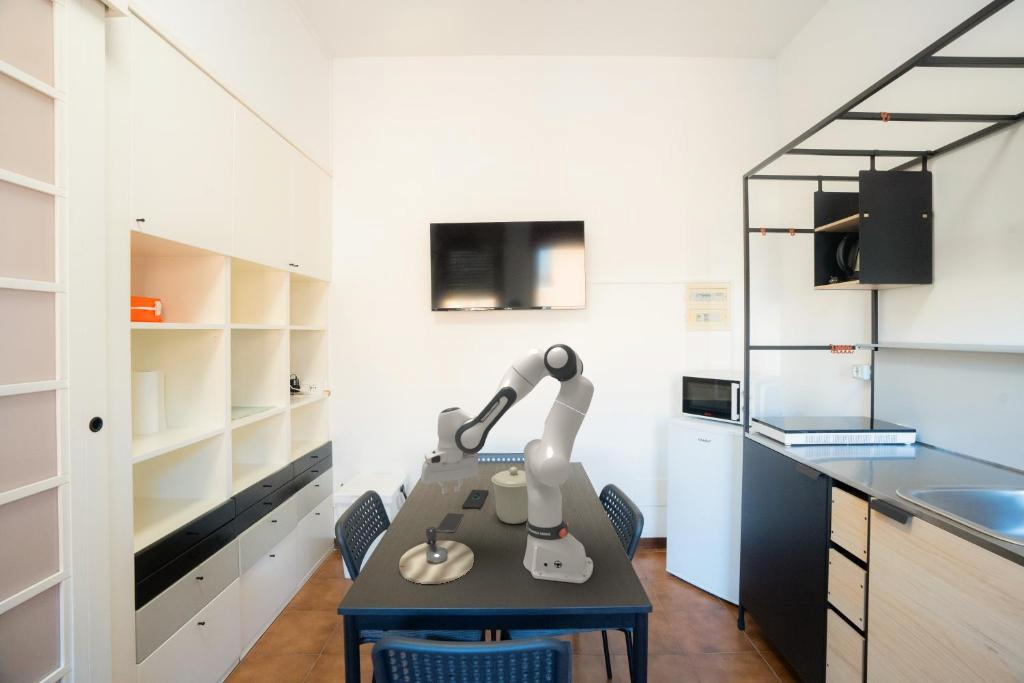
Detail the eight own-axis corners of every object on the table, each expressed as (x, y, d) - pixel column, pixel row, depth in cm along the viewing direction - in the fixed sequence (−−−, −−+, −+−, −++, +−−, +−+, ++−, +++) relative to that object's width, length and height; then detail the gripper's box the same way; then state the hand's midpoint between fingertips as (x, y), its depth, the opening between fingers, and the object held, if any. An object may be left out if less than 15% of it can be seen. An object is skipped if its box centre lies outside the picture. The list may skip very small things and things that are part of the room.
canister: (532, 530, 158) (532, 475, 158) (486, 526, 162) (486, 473, 162) (538, 511, 176) (538, 461, 176) (497, 507, 180) (497, 459, 179)
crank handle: (450, 560, 134) (450, 543, 134) (428, 565, 132) (428, 548, 131) (440, 540, 147) (440, 525, 147) (420, 544, 145) (420, 528, 145)
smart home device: (489, 489, 197) (480, 507, 177) (489, 493, 197) (480, 511, 177) (472, 489, 198) (461, 506, 179) (472, 492, 198) (461, 510, 179)
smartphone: (464, 513, 173) (454, 531, 157) (464, 516, 173) (453, 533, 157) (447, 512, 174) (435, 529, 158) (447, 515, 174) (435, 532, 158)
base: (486, 552, 143) (486, 547, 143) (450, 592, 121) (449, 586, 121) (427, 539, 152) (426, 535, 152) (383, 574, 130) (383, 569, 130)
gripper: (475, 448, 154) (476, 485, 154) (420, 454, 146) (420, 493, 146) (481, 452, 148) (481, 491, 148) (423, 459, 140) (423, 500, 140)
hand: (450, 492), depth 147 cm, fingers open, 3 cm apart
